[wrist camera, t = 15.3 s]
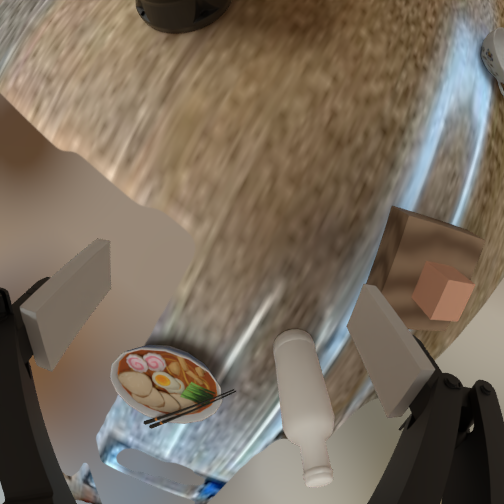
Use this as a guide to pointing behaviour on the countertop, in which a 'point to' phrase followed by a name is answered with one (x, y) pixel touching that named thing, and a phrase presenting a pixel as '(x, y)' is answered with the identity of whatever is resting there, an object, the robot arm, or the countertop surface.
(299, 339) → the bottle
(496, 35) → the teacup
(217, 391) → the ramen bowl
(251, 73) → the countertop surface
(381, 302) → the robot arm
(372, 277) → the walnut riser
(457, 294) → the terracotta cube
